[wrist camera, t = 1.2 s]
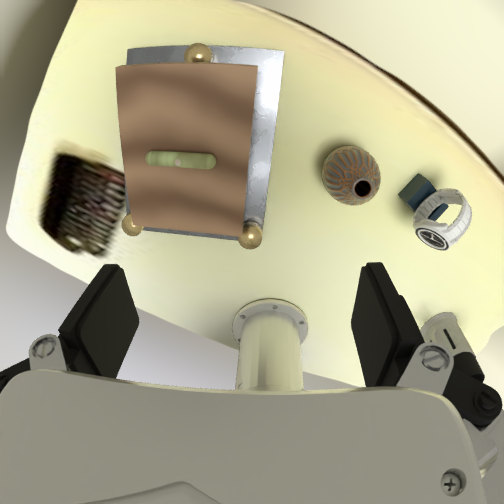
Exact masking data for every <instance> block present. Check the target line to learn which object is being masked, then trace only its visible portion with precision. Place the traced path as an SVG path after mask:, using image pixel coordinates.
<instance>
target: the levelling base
mask: <svg viewBox="0 0 504 504" xmlns="http://www.w3.org/2000/svg"><path fill="white" fill-rule="evenodd" d="M283 59H284V51H279V50H270V49H260V48H248V47H233V46H206V45H204V44H201V43H195V44H192V45H190V46H160V47H145V48H134V49H128V52H127V64H126V65H132V64H146V63H169V62H208V63H231V64H246V65H258V72H257V82H256V92H255V102H254V113H253V123H252V133H251V144H250V154H249V165H248V176H247V187H246V198H245V209H244V221H243V232H242V237H238V236H229V235H220V234H210V233H201V232H192V231H182V230H173V229H163V228H153V227H143V226H133V222H132V217H131V211H130V205H129V199H128V193H127V186H126V179H125V194H126V210H127V216H126V217H125V218H124V219H123V220H122V229H123V231H124V232H125V233H126V234H127V235H129V236H137V235H138V234H139V233H140V232H141V231H142V230H145V231H154V232H164V233H173V234H183V235H192V236H201V237H210V238H219V239H228V240H237V241H239V243H240V245H241V246H242V247H244V248H246V249H255V248H257V247H258V246H259V245H260V244H261V241H262V230H263V222H264V214H265V206H266V198H267V190H268V183H269V175H270V167H271V158H272V150H273V142H274V134H275V126H276V118H277V110H278V101H279V93H280V84H281V76H282V68H283Z"/></svg>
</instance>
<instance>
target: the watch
mask: <svg viewBox="0 0 504 504" xmlns="http://www.w3.org/2000/svg"><path fill="white" fill-rule="evenodd" d="M398 195H399V196H400V197H401V198H402V199H403V200H404V201H405V203H406V204H407V205H408V206H409V207H410V208H411V209H412V210H413V211H414V213H415V214H414V218H413V227H414V228H415V233H416V235H417V236H418V238H419V239H420V240H421V241H423V242H424V243H425V244H427V245H428V246H430V247H432V248H435V249H437V250H443V251H444V250H448V249H449V247H450V246H452V245H454V244H455V243H457V242H458V240H459V239H460V238H461V235H462V236H463V234H464V233H465V232H466V230H467V229H468V227H469V225H470V222H471V217H472V210H471V207H470V205H469V204H468V202H467V201H466V199H465V198H464V196H463V195H462V193H460V192H459V190H456V189H440V190H436V189H435V188H434V187H433V185H432V184H431V183H430V182H429V180H427V179H426V178H425V177H423V176H422V175H420V174H419V173H418V174H417V175H416V176H415V177H414V178H413V179H412V180H411V181H410V183H409V184H408V185H407V186H406V187H405V188H404V189H403V190H402V191H401V192H400V193H399V194H398ZM447 204H459V205H462V208H461V211H460V213H459V215H458V216H457V218H456V219H455V220H454V221H453V224H454V225H453V224H450V225H449V226H448V224H446V223H438V222H436V220H437V219H438V218H439V217H440V216H441V215H442V213H443V212H444V211H445V210H446V209H447V208H448V207H449V206H448V205H447ZM460 230H461V231H460Z"/></svg>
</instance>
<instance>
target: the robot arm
mask: <svg viewBox="0 0 504 504" xmlns="http://www.w3.org/2000/svg"><path fill="white" fill-rule="evenodd" d="M138 325H139V317H138V314H137V311H136V308H135V305H134V302H133V299H132V296H131V293H130V290H129V286H128V283H127V280H126V277H125V273H124V270H123V269H122V268H120V266H119V265H118V264H104V265H103V267H102V268H101V269H100V271H99V272H98V273H97V275H96V276H95V277H94V279H93V280H92V281H91V283H90V284H89V286H88V287H87V288H86V290H85V291H84V293H83V294H82V295H81V297H80V298H79V300H78V301H77V303H76V304H75V305H74V307H73V308H72V310H71V311H70V313H69V314H68V316H67V317H66V319H65V320H64V322H63V323H62V325H61V326H60V328H59V329H58V331H59V333H60V334H59V336H58V337H57V336H56V335H52V334H47V335H43V336H41V337H39V338H37V339H36V340H35V341H34V342H33V343H32V345H31V346H30V349H29V358H27V359H25V360H24V361H21V362H19V363H17V364H15V365H13V366H11V367H10V368H7V369H5V370H3V371H1V372H0V504H504V410H503V409H502V400H501V397H500V395H499V394H498V392H497V391H496V390H494V389H493V388H491V387H490V386H488V385H486V384H484V383H482V382H480V381H478V380H477V379H475V378H473V377H471V376H469V375H467V374H465V373H463V372H462V371H460V370H458V369H456V368H454V367H453V364H454V359H453V355H452V354H451V352H450V351H449V350H448V349H447V348H446V347H445V346H443V345H441V344H439V343H436V342H426V343H425V341H424V339H423V336H422V334H421V332H420V330H419V328H418V326H417V323H416V321H415V319H414V317H413V315H412V313H411V311H410V309H409V307H408V305H407V303H406V301H405V299H404V297H403V296H402V295H399V294H398V292H397V290H396V288H395V286H394V284H393V283H392V281H391V279H390V277H389V275H388V273H387V271H386V269H385V267H384V265H383V264H382V263H381V262H370V263H367V264H366V266H363V267H362V268H361V273H360V278H359V284H358V289H357V294H356V299H355V304H354V309H353V314H352V319H351V328H352V332H353V335H354V339H355V343H356V347H357V351H358V355H359V359H360V363H361V367H362V372H363V376H364V380H365V385H366V387H362V388H348V389H331V390H305V391H304V388H303V375H302V361H301V349H300V345H301V344H302V343H303V342H304V340H305V338H306V336H307V333H308V323H307V319H306V317H305V315H304V313H303V312H302V311H301V310H300V309H299V308H297V307H296V306H295V305H293V304H291V303H289V302H285V301H282V300H275V299H265V300H259V301H256V302H252V303H250V304H248V305H246V306H245V307H243V308H242V309H241V310H240V311H239V312H238V313H237V315H236V316H235V318H234V322H233V335H234V337H235V340H236V341H237V342H238V344H239V345H240V350H239V359H238V368H237V378H236V386H235V390H219V389H202V388H189V387H178V386H168V385H159V384H150V383H142V382H134V381H127V380H120V379H116V377H117V374H118V372H119V369H120V367H121V365H122V362H123V360H124V357H125V355H126V353H127V351H128V348H129V346H130V344H131V341H132V339H133V337H134V334H135V332H136V330H137V328H138Z"/></svg>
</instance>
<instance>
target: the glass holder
mask: <svg viewBox="0 0 504 504" xmlns="http://www.w3.org/2000/svg"><path fill="white" fill-rule="evenodd" d="M420 332H421V334H422V336H423V339H424V341H425V343H426V342H436V343H439V344H441V345H443V346H445V347H446V348H447V349H448V350H449V351H450V352H451V354H452V355H453V359H454V364H453V367H454V368H456V369H458V370H460V371H462V372H463V373H465V374H467V375H469V376H471V377H473V378H475V379H477V380H478V381H480V382H482V383H483V381H484V378H485V376H484V374H483V372H482V370H481V368H480V366H479V364H478V362H477V360H476V356H475V354H474V352H473V350H472V349H471V347H470V345H469V343H468V341H467V339H466V338H465V336H464V334H463V332H462V331H461V329H460V327H459V326H458V324H457V319H456V316H455V315H454V314H453V313H451V312H443V313H440V314H437V315H435V316H434V317H432V318H431V319H429V320H428V321H427V322H426V323H425V324H424V325H423V327H422V328H421V330H420Z"/></svg>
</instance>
